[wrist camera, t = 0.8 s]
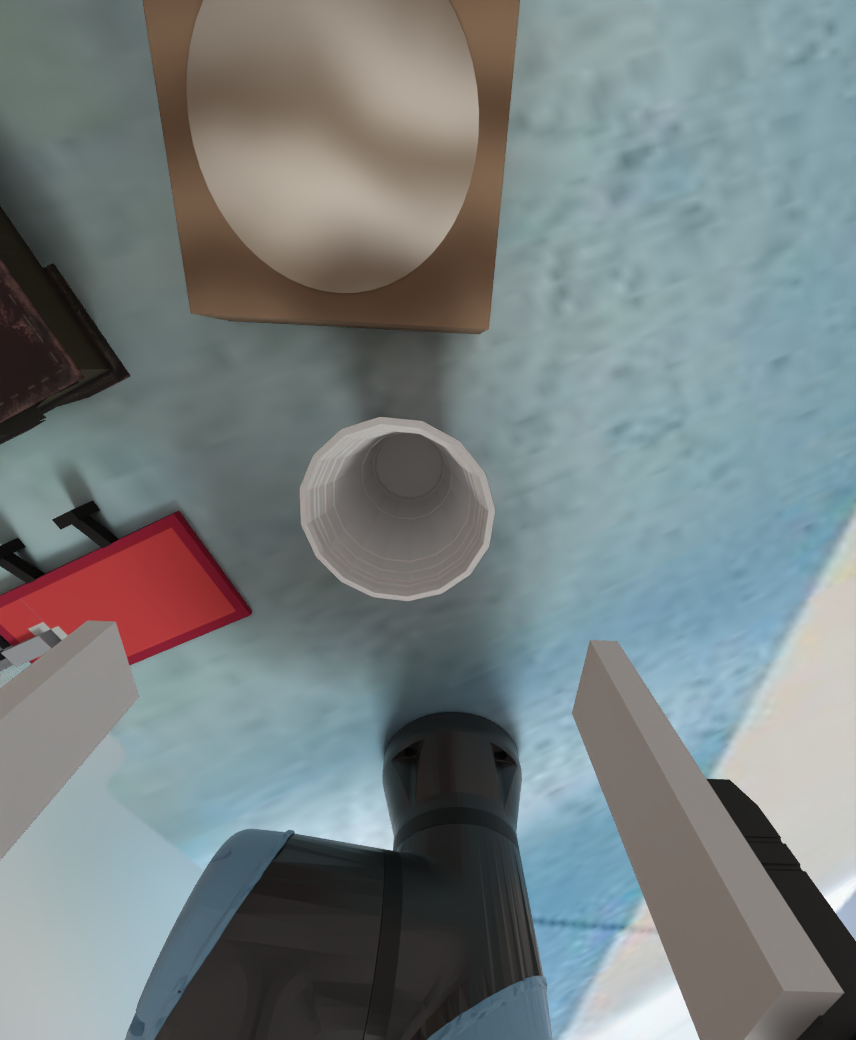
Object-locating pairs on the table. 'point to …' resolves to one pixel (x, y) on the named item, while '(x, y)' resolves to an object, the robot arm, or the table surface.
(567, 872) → the table surface
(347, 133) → the walnut pedestal
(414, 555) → the plastic cup
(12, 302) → the diary
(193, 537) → the red board with handle
